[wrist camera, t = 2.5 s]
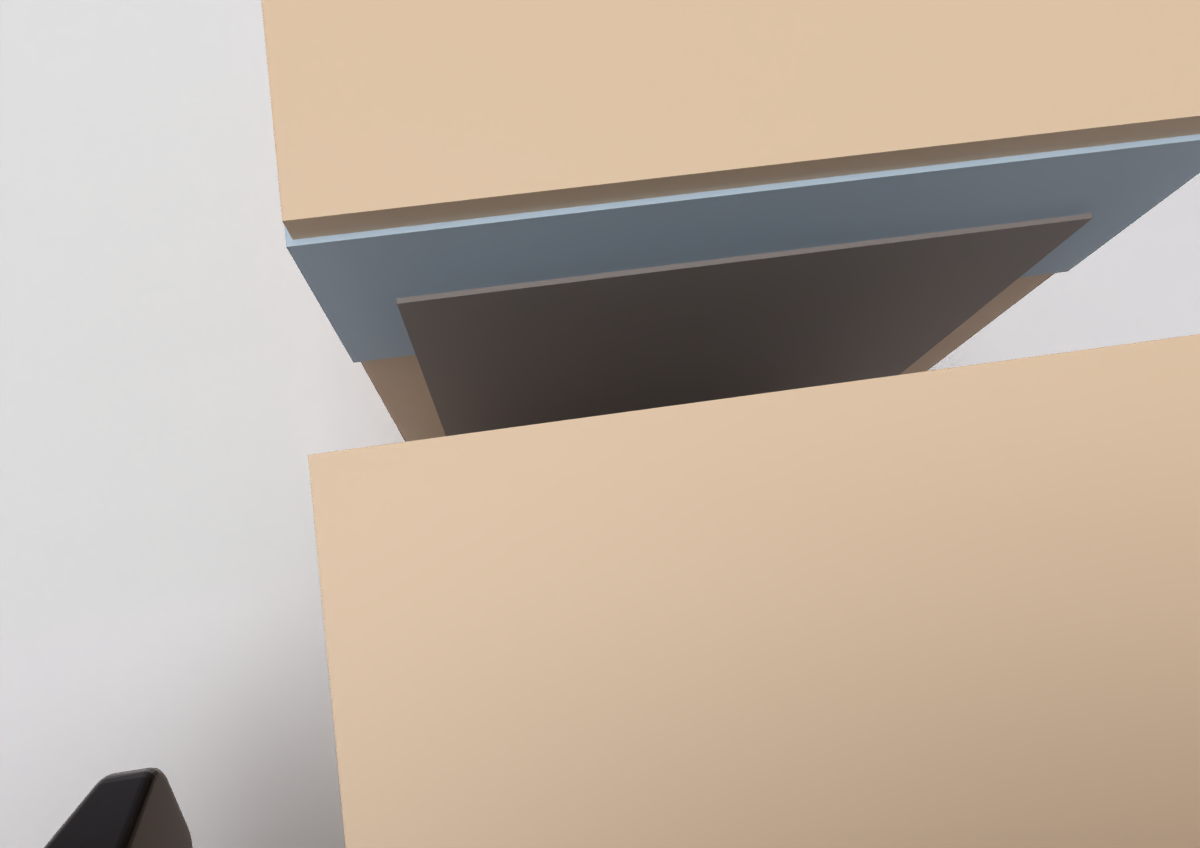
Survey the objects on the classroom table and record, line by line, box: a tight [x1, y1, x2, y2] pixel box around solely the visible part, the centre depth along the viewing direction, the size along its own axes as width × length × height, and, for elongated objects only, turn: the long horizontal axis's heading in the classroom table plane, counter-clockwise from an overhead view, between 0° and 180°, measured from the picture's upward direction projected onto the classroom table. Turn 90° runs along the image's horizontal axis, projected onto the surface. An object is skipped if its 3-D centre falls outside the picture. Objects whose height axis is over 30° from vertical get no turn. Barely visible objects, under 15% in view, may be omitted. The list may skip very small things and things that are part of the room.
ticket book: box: [261, 0, 1200, 442], centre depth 11 cm, size 9×5×12 cm, turn 9°
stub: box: [308, 334, 1200, 848], centre depth 10 cm, size 4×5×12 cm
